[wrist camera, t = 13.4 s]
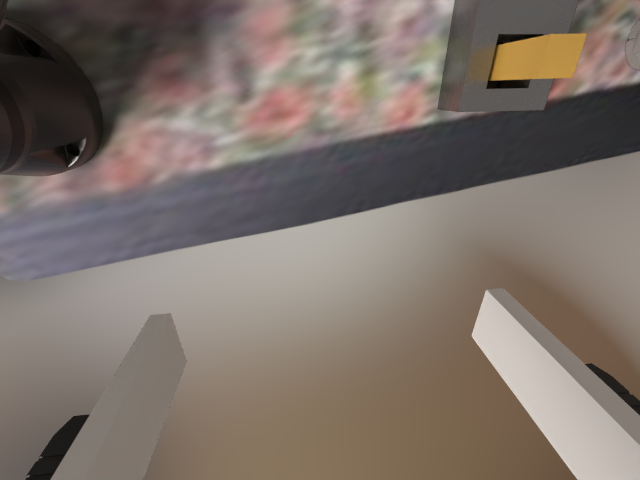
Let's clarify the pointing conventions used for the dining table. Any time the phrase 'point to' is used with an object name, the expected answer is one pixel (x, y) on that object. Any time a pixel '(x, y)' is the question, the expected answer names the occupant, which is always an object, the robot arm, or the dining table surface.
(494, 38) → the grey bracket
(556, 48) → the wedge pin
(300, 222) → the dining table surface
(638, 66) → the mug
